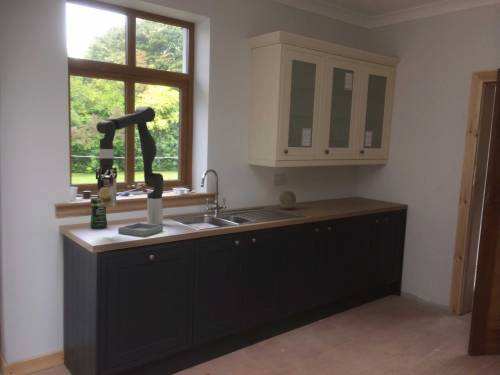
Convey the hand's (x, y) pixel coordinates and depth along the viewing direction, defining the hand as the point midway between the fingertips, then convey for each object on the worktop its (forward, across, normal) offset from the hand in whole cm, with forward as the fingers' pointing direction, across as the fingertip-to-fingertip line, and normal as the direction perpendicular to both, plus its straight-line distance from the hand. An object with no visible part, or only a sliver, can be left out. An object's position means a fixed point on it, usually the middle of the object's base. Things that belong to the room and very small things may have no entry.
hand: (106, 186), depth 240 cm
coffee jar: (+28, -15, -20) cm, 38 cm away
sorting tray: (+28, -16, +11) cm, 34 cm away
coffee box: (+11, 0, 0) cm, 11 cm away
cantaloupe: (+29, -152, +55) cm, 164 cm away
